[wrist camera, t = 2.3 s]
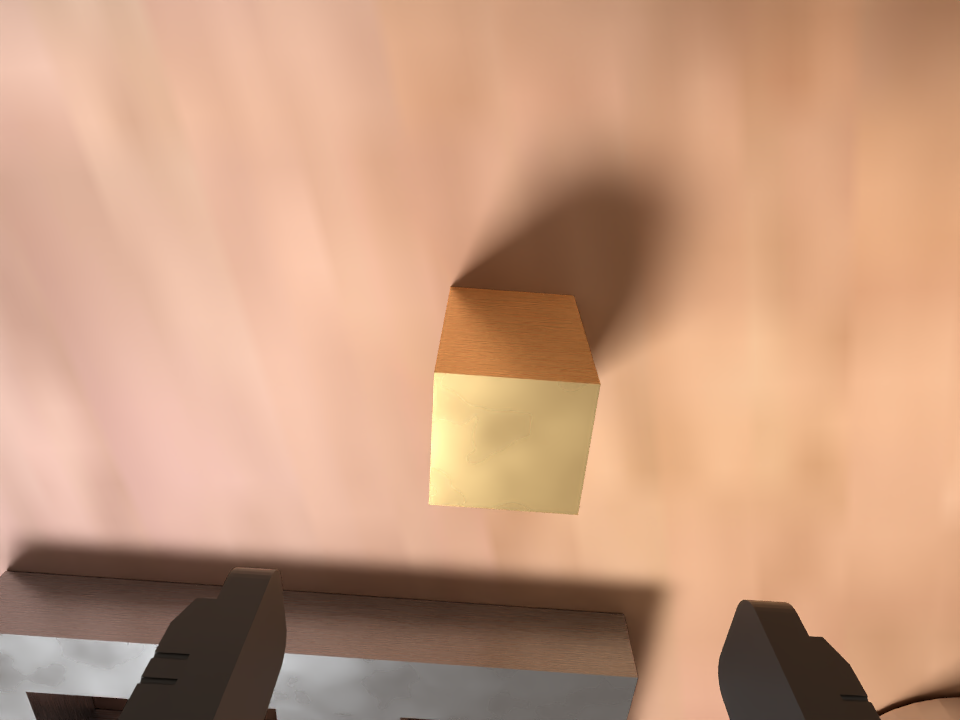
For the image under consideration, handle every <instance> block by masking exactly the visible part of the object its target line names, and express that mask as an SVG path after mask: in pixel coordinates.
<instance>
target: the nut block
mask: <svg viewBox="0 0 960 720" xmlns="http://www.w3.org/2000/svg"><path fill="white" fill-rule="evenodd" d="M599 390H600V381H599V378H598V374H597V371H596V368H595V364H594V361H593V358H592V354H591V351H590V348H589V344H588V341H587V338H586V334H585V331H584V328H583V324H582V321H581V318H580V314H579V311H578V308H577V305H576V301H575V298H574V296H572V295H558V294H545V293H531V292H517V291H504V290H490V289H476V288H463V287H450V293H449V298H448V303H447V308H446V313H445V319H444V324H443V329H442V334H441V340H440V345H439V350H438V355H437V361H436V366H435V371H434V391H433V415H432V440H431V465H430V489H429V505H444V506H458V507H472V508H486V509H501V510H515V511H529V512H544V513H558V514H572V515H578V511H579V505H580V499H581V493H582V488H583V482H584V476H585V471H586V465H587V459H588V453H589V448H590V442H591V436H592V430H593V425H594V419H595V413H596V407H597V402H598V396H599Z"/></svg>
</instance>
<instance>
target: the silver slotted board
mask: <svg viewBox="0 0 960 720" xmlns="http://www.w3.org/2000/svg"><path fill="white" fill-rule="evenodd" d="M222 587H223V586H212V585H197V584H183V583H169V582H154V581H140V580H126V579H111V578H97V577H83V576H68V575H54V574H40V573H25V572H11V571H5V572H4V573H3V574H2V576H1V577H0V720H118V718H119V716H120V714H121V713H122V711H115V710H100V709H95V707H94V704H93V700H92V697H91V696H95V697H110V698H124V699H129V698H130V696H131V694H132V692H133V691H134V689H135V687H136V685H137V683H140V681H141V676H142V674H143V672H144V670H145V668H146V667H147V665H148V663H149V661H150V659H151V658H153V657H154V654H155V650H156V648H157V646H158V645H159V643H160V641H161V639H162V637H163V635H164V634H165V632H166V630H167V628H168V626H169V624H170V623H171V621H173V620H174V619H175V618H176V617H177V616H178V615H179V614H180V613H181V612H182V611H183V610H184V609H185V608H186V607H187V606H189V605H190V604H191V603H192V602H193V601H194V600H195V599H196V598H211V599H217V597H218V595H219V593H220V591H221V589H222ZM283 598H284V608H285V618H286V628H287V638H286V648H285V654H284V659H283V663H282V667H281V670H280V673H279V676H278V679H277V682H276V685H275V688H274V691H273V694H272V697H271V700H270V703H269V706H268V708H271V709H276V716H277V720H408V718H417V719H431V720H627V717H628V713H629V710H630V706H631V702H632V698H633V695H634V691H635V687H636V683H637V680H638V675H637V671H636V666H635V662H634V657H633V653H632V648H631V643H630V639H629V634H628V630H627V625H626V621H625V616H624V614H613V613H598V612H584V611H570V610H555V609H541V608H527V607H512V606H498V605H484V604H469V603H455V602H441V601H426V600H412V599H398V598H383V597H369V596H355V595H340V594H326V593H312V592H297V591H283Z"/></svg>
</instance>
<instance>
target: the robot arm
mask: <svg viewBox="0 0 960 720" xmlns="http://www.w3.org/2000/svg"><path fill="white" fill-rule="evenodd" d="M286 638H287V628H286V618H285V608H284V598H283V588H282V579H281V573H280V571H279V570H276V569H259V568H243V567H235V568H233V569H232V570H231V572H230V573H229V575H228V577H227V579H226V581H225V583H224V585H223V587H222V589H221V591H220V593H219V595H218V597H217V599H211V598H196V599H195V600H194V601H193V602H192V603H191V604H190V605H189V606H187V607H186V608H185V609H184V610H183V611H182V612H181V613H180V614H179V615H178V616H177V617H176V618H175V619H174V620H173V621H171V623H170V624H169V626H168V628H167V630H166V632H165V634H164V635H163V637H162V639H161V641H160V643H159V645H158V646H157V648H156V650H155V654H154V657H153V658H151V659H150V661H149V663H148V665H147V667H146V668H145V670H144V672H143V674H142V676H141V681H140V683H137V685H136V687H135V689H134V691H133V692H132V694H131V696H130V698H129V700H128V702H127V703H126V705H125V707H124V709H123V711H122V713H121V714H120V716H119V718H118V720H264V719H265V716H266V712H267V709H268V706H269V703H270V700H271V697H272V694H273V691H274V688H275V685H276V682H277V679H278V676H279V673H280V670H281V667H282V663H283V659H284V654H285V648H286ZM718 677H719V685H720V690H721V694H722V698H723V701H724V704H725V706H726V709H727V712H728V715H729V718H730V720H960V697H956V698H940V699H933V700H928V701H922V702H917V703H913V704H910V705H907V706H903V707H900V708H897V709H894V710H891V711H889V712H887V713H885V714H883V715H881V716H879V715H878V713H877V712H876V710H875V708H874V706H873V705H872V703H871V702H868V699H867V697H868V696H867V694H866V692H865V691H864V689H863V687H862V685H861V683H860V682H859V680H858V678H857V676H856V675H855V673H854V671H853V669H852V668H851V666H850V664H849V663H848V662H847V661H846V660H845V659H844V658H843V657H842V656H841V655H840V654H839V653H838V652H837V651H836V650H835V649H834V648H833V647H832V646H831V645H830V644H829V643H828V642H827V641H826V640H825V639H824V638H823V637H811V636H809V635H808V633H807V631H806V629H805V628H804V626H803V624H802V622H801V620H800V618H799V616H798V614H797V613H796V611H795V609H794V608H793V607H792V606H791V605H790V604H789V603H786V602H771V601H755V600H742V601H741V602H740V603H739V605H738V607H737V609H736V612H735V615H734V618H733V621H732V624H731V626H730V629H729V632H728V635H727V638H726V641H725V643H724V646H723V649H722V652H721V655H720V658H719V665H718Z"/></svg>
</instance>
